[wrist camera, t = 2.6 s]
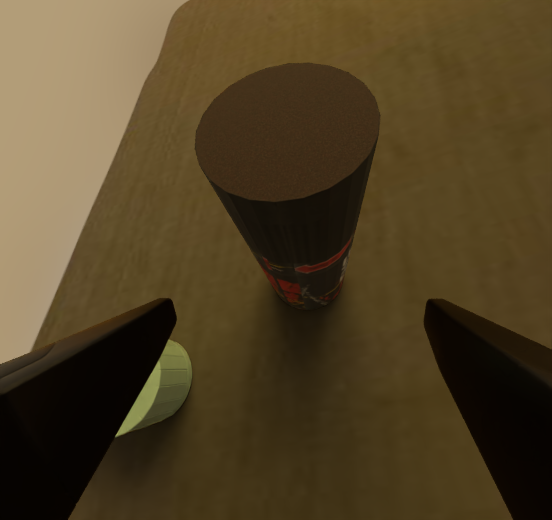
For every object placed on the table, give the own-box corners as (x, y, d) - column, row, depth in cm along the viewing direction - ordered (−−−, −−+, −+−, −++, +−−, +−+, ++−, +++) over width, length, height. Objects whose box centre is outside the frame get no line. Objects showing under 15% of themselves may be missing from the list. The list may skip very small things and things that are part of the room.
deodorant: (275, 243, 24) (210, 73, 10) (342, 243, 23) (374, 52, 9) (269, 308, 21) (177, 205, 8) (344, 311, 20) (389, 198, 7)
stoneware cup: (168, 322, 22) (134, 313, 18) (207, 384, 20) (177, 389, 16) (80, 395, 21) (23, 402, 17) (110, 470, 19) (51, 498, 15)
